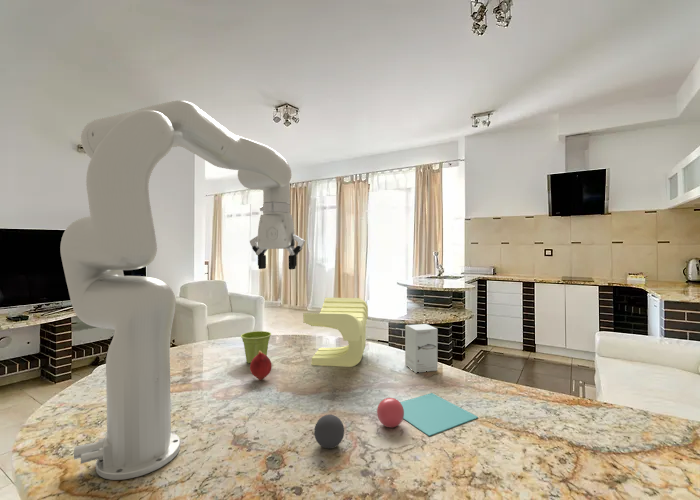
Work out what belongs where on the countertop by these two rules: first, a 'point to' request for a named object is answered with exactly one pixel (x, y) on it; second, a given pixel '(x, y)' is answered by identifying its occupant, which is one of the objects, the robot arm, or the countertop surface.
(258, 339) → the plant pot
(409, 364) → the supplement box
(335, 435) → the dark gray ball
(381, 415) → the red ball
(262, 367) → the onion
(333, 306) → the slatted curved stool
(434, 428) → the teal mark
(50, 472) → the countertop surface
